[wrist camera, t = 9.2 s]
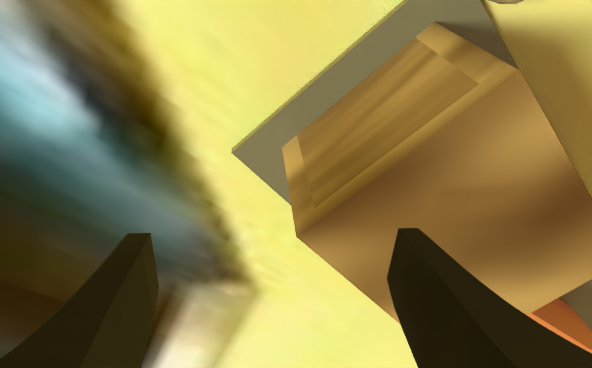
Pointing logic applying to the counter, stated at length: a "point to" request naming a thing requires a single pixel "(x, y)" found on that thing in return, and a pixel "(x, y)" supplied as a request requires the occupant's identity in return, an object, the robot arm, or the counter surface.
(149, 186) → the counter surface
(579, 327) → the vermilion block
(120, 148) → the counter surface
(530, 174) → the oak crate
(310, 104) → the slate board
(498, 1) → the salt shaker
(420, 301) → the robot arm
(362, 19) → the counter surface
